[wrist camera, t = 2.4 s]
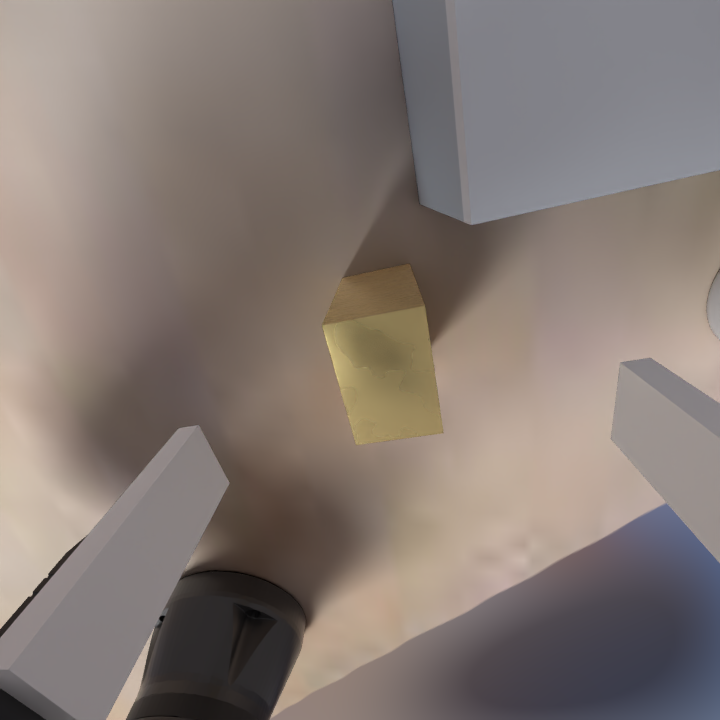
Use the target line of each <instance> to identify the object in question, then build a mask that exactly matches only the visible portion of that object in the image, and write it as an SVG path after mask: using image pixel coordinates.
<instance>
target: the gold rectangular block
mask: <svg viewBox="0 0 720 720" xmlns="http://www.w3.org/2000/svg"><path fill="white" fill-rule="evenodd" d="M322 328H323V332H324V335H325V339H326V342H327V346H328V349H329V352H330V356H331V359H332V363H333V366H334V370H335V373H336V377H337V380H338V384H339V387H340V391H341V394H342V398H343V401H344V405H345V408H346V412H347V415H348V419H349V422H350V426H351V429H352V432H353V436H354V439H355V443H356V445H361V444H368V443H375V442H382V441H390V440H397V439H404V438H412V437H419V436H426V435H433V434H441V433H443V426H442V419H441V413H440V406H439V399H438V392H437V385H436V378H435V371H434V364H433V357H432V350H431V343H430V337H429V330H428V323H427V316H426V309H425V304H424V302H423V299H422V296H421V293H420V291H419V288H418V285H417V283H416V280H415V277H414V274H413V272H412V269H411V266H410V264H405V265H401V266H396V267H391V268H386V269H382V270H377V271H372V272H368V273H363V274H358V275H353V276H349V277H344V278H342V281H341V283H340V285H339V287H338V290H337V292H336V294H335V297H334V299H333V301H332V303H331V306H330V308H329V310H328V313H327V315H326V317H325V319H324V322H323V324H322Z"/></svg>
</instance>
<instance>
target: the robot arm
mask: <svg viewBox="0 0 720 720" xmlns="http://www.w3.org/2000/svg"><path fill="white" fill-rule="evenodd" d="M611 440H612V441H613V442H614V443H615V444H616V446H617V447H618V448H619V449H620V450H621V451H622V452H623V453H624V455H625V456H626V457H627V458H628V459H629V460H630V461H631V463H632V464H633V465H634V466H635V467H636V468H637V469H638V471H639V472H640V473H641V474H642V475H643V476H644V477H645V479H646V480H647V481H648V482H649V483H650V484H651V485H652V486H653V488H654V489H655V490H656V491H657V492H658V493H659V494H660V496H661V497H662V498H663V499H664V500H665V501H666V502H667V504H668V505H669V506H670V507H671V508H672V509H673V510H674V511H675V513H676V514H677V515H678V516H679V517H680V518H681V519H682V521H683V522H684V523H685V524H686V525H687V526H688V527H689V529H690V530H691V531H692V532H693V533H694V534H695V535H696V537H697V538H698V539H699V540H700V541H701V542H702V543H703V544H704V546H705V547H706V548H707V549H708V550H709V551H710V552H711V554H712V555H713V556H714V557H715V558H716V559H717V560H718V562H719V563H720V403H718V402H717V401H715V400H714V399H712V398H711V397H709V396H708V395H706V394H705V393H703V392H701V391H700V390H698V389H697V388H695V387H694V386H692V385H691V384H689V383H688V382H686V381H685V380H683V379H682V378H680V377H679V376H677V375H676V374H674V373H673V372H671V371H670V370H668V369H667V368H665V367H664V366H662V365H661V364H659V363H658V362H656V361H654V360H653V359H651V358H647V359H640V360H633V361H626V362H620V368H619V376H618V384H617V392H616V400H615V408H614V416H613V424H612V432H611ZM229 484H230V483H229V481H228V479H227V477H226V475H225V473H224V472H223V470H222V468H221V466H220V464H219V462H218V460H217V458H216V456H215V455H214V453H213V451H212V449H211V447H210V445H209V443H208V441H207V439H206V438H205V436H204V434H203V432H202V430H201V428H200V426H199V425H195V426H189V427H182V428H178V430H177V431H176V432H175V433H174V434H173V435H172V437H171V438H170V439H169V440H168V441H167V442H166V444H165V445H164V446H163V447H162V448H161V450H160V451H159V452H158V453H157V454H156V455H155V457H154V458H153V459H152V460H151V461H150V462H149V464H148V465H147V466H146V467H145V468H144V469H143V471H142V472H141V473H140V474H139V475H138V477H137V478H136V479H135V480H134V481H133V482H132V484H131V485H130V486H129V487H128V488H127V489H126V491H125V492H124V493H123V494H122V495H121V497H120V498H119V499H118V500H117V501H116V502H115V504H114V505H113V506H112V507H111V508H110V509H109V511H108V512H107V513H106V514H105V515H104V516H103V518H102V519H101V520H100V521H99V522H98V524H97V525H96V526H95V527H94V528H93V529H92V531H91V532H90V533H89V534H88V535H87V536H86V537H85V538H83V539H82V540H81V541H80V542H79V543H78V544H76V545H75V546H74V547H73V548H72V549H70V550H69V551H68V552H67V553H66V554H65V555H64V556H63V558H62V559H61V560H60V561H59V562H58V563H57V564H56V566H55V567H54V568H53V569H52V570H51V571H50V573H49V574H48V575H49V576H48V578H44V579H43V581H42V582H41V583H40V584H39V585H38V586H37V588H36V589H35V590H34V591H33V595H32V596H31V597H28V598H27V599H26V600H25V601H24V603H23V604H22V605H21V606H20V607H19V608H18V609H17V611H16V612H15V613H14V614H13V615H12V616H11V618H10V619H9V620H8V621H7V622H6V623H5V624H4V626H3V627H2V628H1V629H0V720H106V718H107V717H108V715H109V713H110V711H111V709H112V707H113V705H114V703H115V701H116V699H117V697H118V696H119V694H120V692H121V690H122V688H123V686H124V684H125V682H126V680H127V678H128V676H129V675H130V673H131V671H132V669H133V667H134V665H135V663H136V661H137V659H138V657H139V655H140V654H141V652H142V650H143V648H144V646H145V644H146V642H147V640H148V638H149V636H150V634H151V633H152V631H153V629H154V632H153V635H152V639H151V643H150V647H149V651H148V656H147V660H146V665H145V669H144V673H143V678H142V682H141V686H140V690H139V693H138V695H137V698H136V700H135V702H134V704H133V706H132V708H131V710H130V712H129V714H128V716H127V718H126V720H270V717H271V715H272V713H273V710H274V708H275V706H276V704H277V702H278V699H279V697H280V695H281V693H282V691H283V689H284V686H285V684H286V682H287V680H288V678H289V676H290V673H291V671H292V669H293V667H294V665H295V662H296V660H297V658H298V656H299V654H300V651H301V647H302V643H303V637H304V631H305V626H306V619H305V615H304V612H303V610H302V608H301V607H300V605H299V604H298V603H297V602H296V601H295V600H294V599H293V598H292V597H291V596H290V595H289V594H288V593H286V592H285V591H283V590H282V589H280V588H279V587H277V586H275V585H273V584H271V583H269V582H266V581H264V580H261V579H259V578H255V577H252V576H248V575H244V574H239V573H232V572H203V573H198V574H194V575H190V576H188V577H185V578H183V579H181V580H179V579H180V577H181V575H182V573H183V571H184V570H185V568H186V566H187V564H188V562H189V560H190V558H191V556H192V554H193V552H194V550H195V549H196V547H197V545H198V543H199V541H200V539H201V537H202V535H203V533H204V531H205V529H206V528H207V526H208V524H209V522H210V520H211V518H212V516H213V514H214V512H215V510H216V508H217V507H218V505H219V503H220V501H221V499H222V497H223V495H224V493H225V491H226V489H227V487H228V486H229ZM154 627H155V628H154Z"/></svg>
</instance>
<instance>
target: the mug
mask: <svg viewBox="0 0 720 720" xmlns="http://www.w3.org/2000/svg"><path fill="white" fill-rule="evenodd" d="M707 319H708V322H709V326H710V328H711V330H712V332H713V333H714V334H715V336H716V337H717V338H718V339H719V340H720V270H719V272H718V273H717V275H716V277H715V279H714V281H713V283H712V286H711V289H710V291H709V295H708V300H707Z"/></svg>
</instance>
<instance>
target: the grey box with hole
mask: <svg viewBox="0 0 720 720" xmlns="http://www.w3.org/2000/svg"><path fill="white" fill-rule="evenodd" d="M392 3H393V10H394V18H395V25H396V33H397V40H398V48H399V55H400V63H401V70H402V78H403V85H404V93H405V100H406V107H407V115H408V122H409V130H410V137H411V145H412V152H413V160H414V167H415V175H416V182H417V190H418V197H419V204H421V205H423V206H426V207H428V208H430V209H433V210H435V211H438V212H440V213H443V214H445V215H448V216H450V217H453V218H455V219H457V220H460V221H462V222H465V223H467V224H470V225H475V224H479V223H484V222H488V221H493V220H497V219H502V218H506V217H511V216H515V215H520V214H524V213H529V212H533V211H538V210H542V209H547V208H551V207H556V206H560V205H565V204H569V203H574V202H578V201H583V200H587V199H592V198H596V197H601V196H605V195H610V194H614V193H619V192H623V191H628V190H632V189H637V188H641V187H646V186H650V185H655V184H659V183H664V182H668V181H673V180H677V179H682V178H686V177H691V176H695V175H700V174H704V173H709V172H713V171H718V170H720V0H392Z"/></svg>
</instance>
